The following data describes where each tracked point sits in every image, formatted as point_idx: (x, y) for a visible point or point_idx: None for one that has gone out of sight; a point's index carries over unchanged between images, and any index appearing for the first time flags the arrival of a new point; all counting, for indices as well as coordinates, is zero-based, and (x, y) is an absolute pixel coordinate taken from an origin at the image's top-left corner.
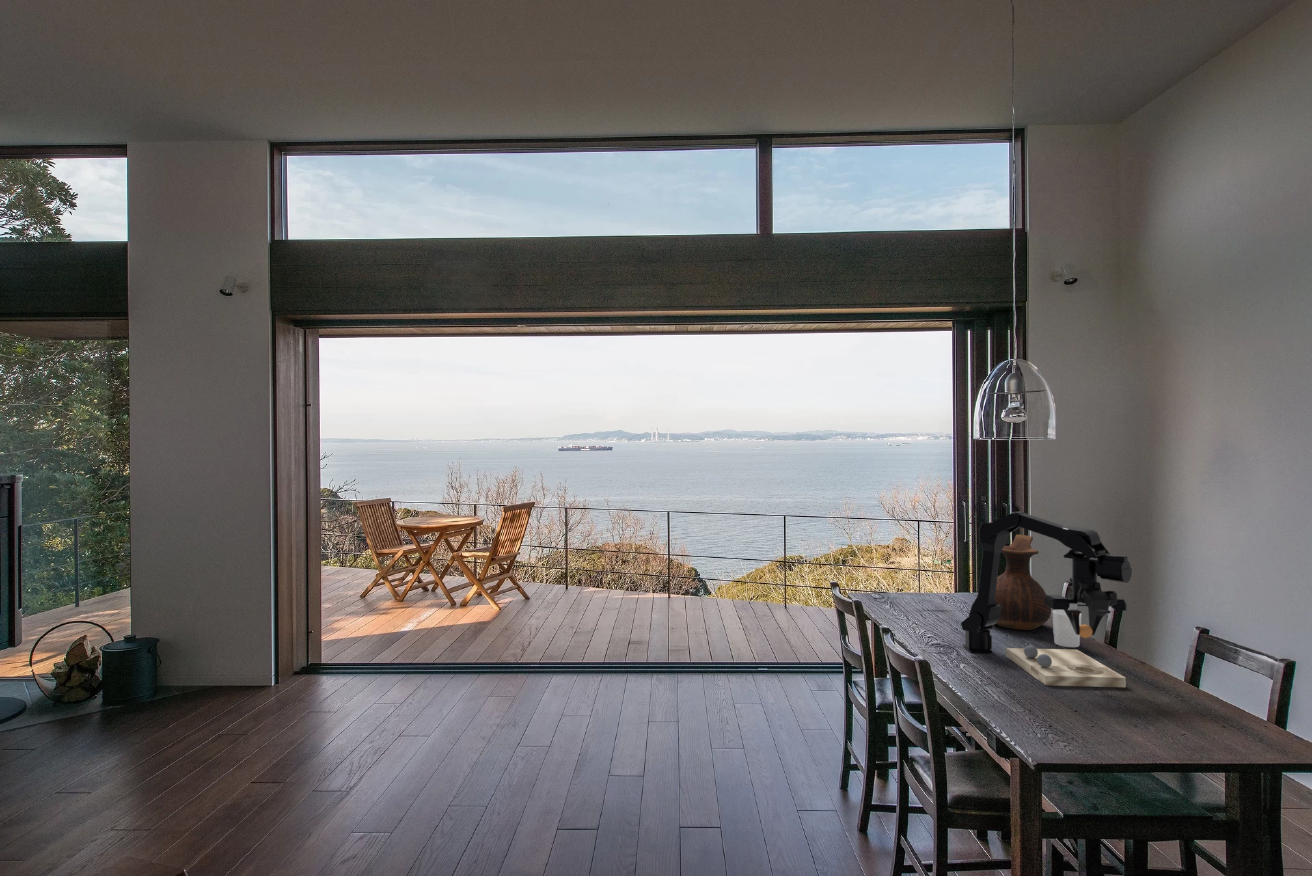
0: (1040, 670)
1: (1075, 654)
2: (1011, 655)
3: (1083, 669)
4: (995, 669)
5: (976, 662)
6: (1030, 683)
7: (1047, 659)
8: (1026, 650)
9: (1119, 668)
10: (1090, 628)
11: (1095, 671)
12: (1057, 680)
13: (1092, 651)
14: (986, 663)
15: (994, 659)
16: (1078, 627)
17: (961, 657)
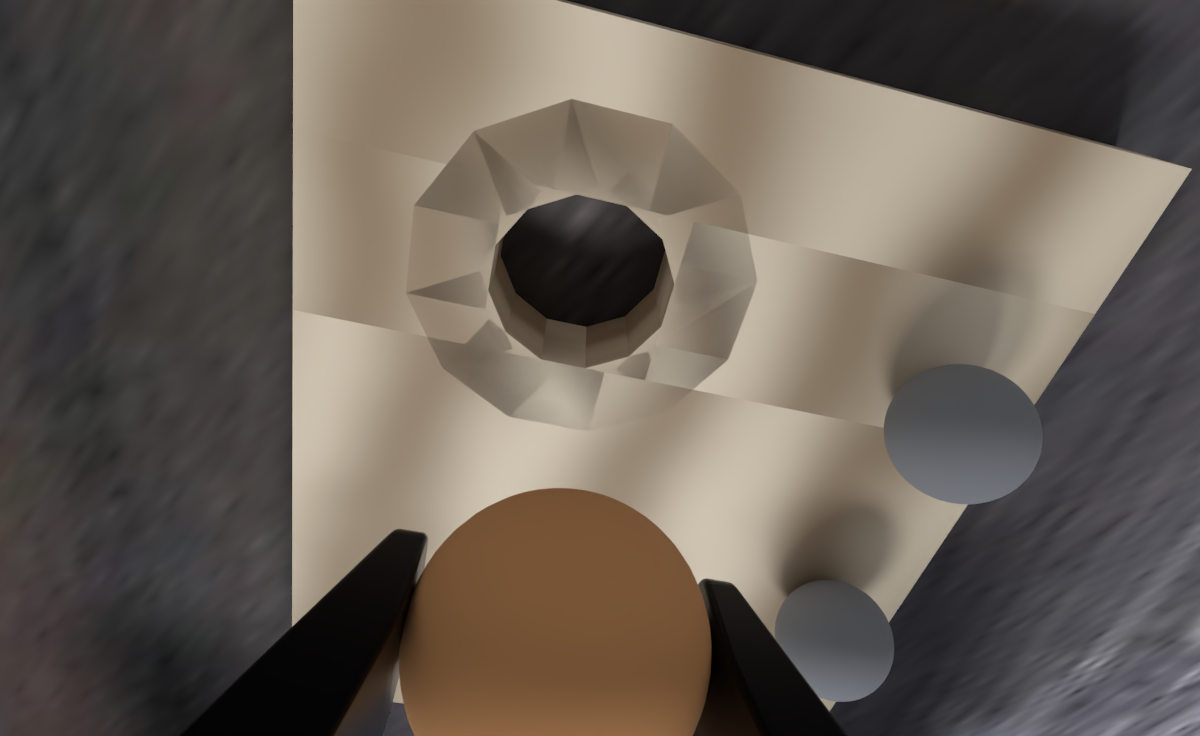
0: (1058, 324)
1: None
2: None
3: (538, 342)
4: (1105, 528)
5: (1083, 644)
6: (1189, 218)
7: (1007, 399)
8: (892, 646)
9: (99, 427)
10: (484, 645)
11: (516, 210)
12: (1042, 128)
13: (126, 708)
14: (1038, 623)
15: (909, 670)
16: (788, 715)
17: (1079, 715)
